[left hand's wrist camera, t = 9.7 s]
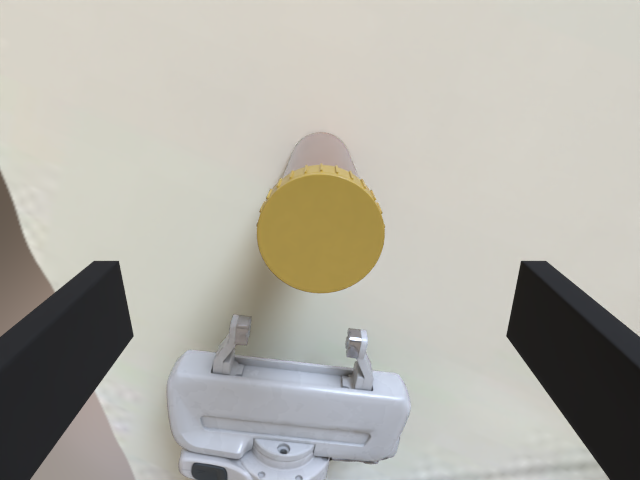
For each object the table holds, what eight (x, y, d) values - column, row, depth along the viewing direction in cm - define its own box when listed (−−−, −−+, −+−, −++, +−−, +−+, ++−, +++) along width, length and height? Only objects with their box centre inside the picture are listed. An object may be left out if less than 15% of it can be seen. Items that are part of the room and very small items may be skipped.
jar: (291, 191, 36) (267, 282, 20) (290, 131, 34) (263, 179, 18) (349, 192, 36) (372, 283, 20) (351, 132, 34) (379, 180, 18)
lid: (263, 275, 22) (258, 294, 20) (258, 162, 19) (252, 171, 18) (376, 276, 22) (381, 295, 20) (383, 163, 19) (390, 172, 18)
